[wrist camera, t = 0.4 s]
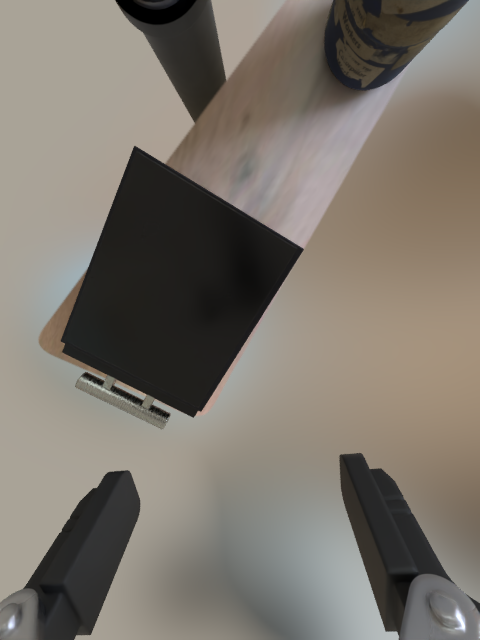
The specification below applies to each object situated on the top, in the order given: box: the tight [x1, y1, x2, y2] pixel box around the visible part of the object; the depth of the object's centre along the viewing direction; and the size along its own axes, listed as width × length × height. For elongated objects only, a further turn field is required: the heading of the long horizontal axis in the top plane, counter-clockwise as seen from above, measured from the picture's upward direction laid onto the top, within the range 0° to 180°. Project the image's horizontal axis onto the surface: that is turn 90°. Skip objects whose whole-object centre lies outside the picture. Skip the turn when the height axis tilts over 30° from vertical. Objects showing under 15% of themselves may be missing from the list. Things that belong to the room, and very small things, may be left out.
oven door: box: [62, 344, 198, 429], centre depth 31 cm, size 5×13×14 cm, turn 60°
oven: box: [61, 146, 304, 412], centre depth 29 cm, size 16×13×18 cm
